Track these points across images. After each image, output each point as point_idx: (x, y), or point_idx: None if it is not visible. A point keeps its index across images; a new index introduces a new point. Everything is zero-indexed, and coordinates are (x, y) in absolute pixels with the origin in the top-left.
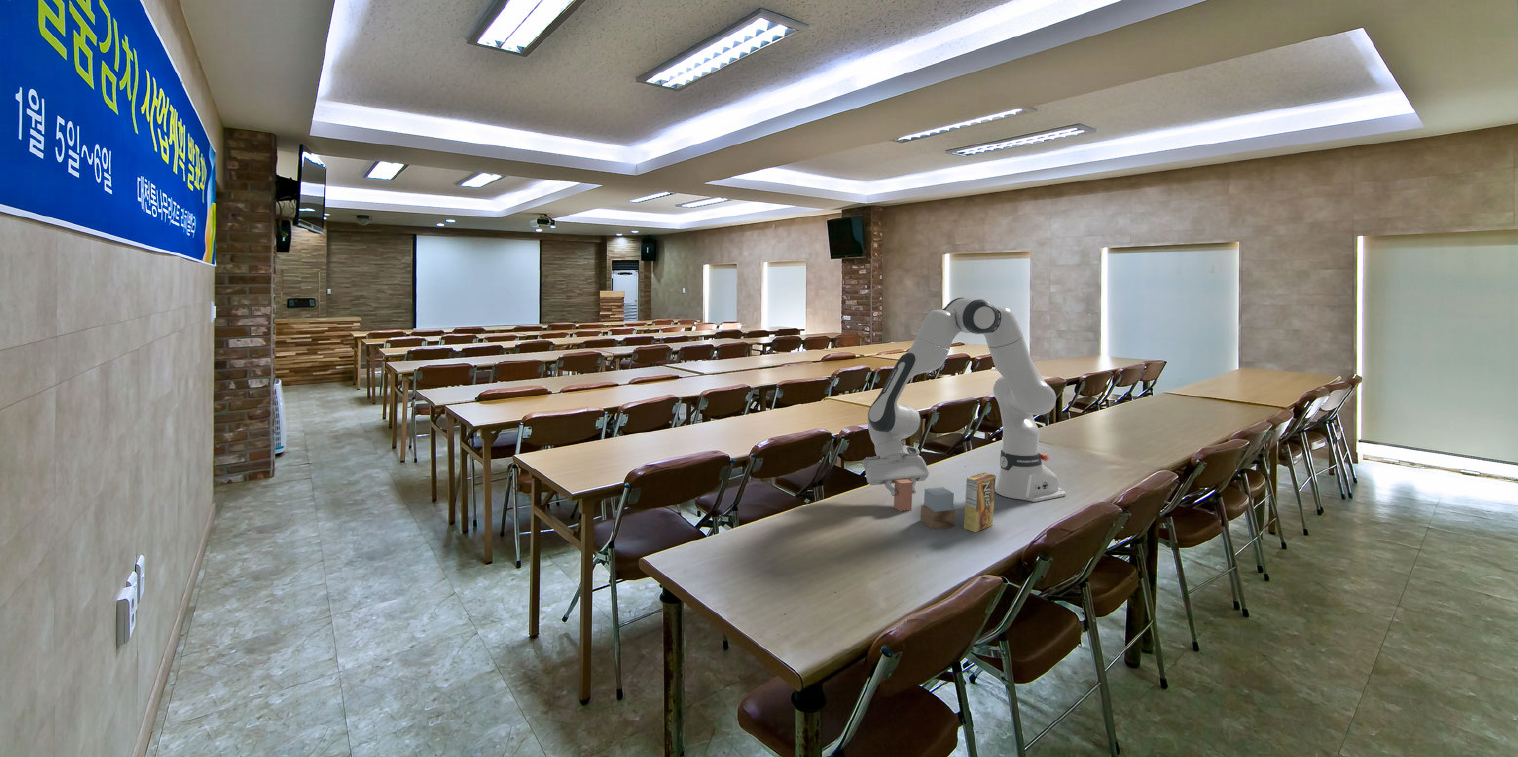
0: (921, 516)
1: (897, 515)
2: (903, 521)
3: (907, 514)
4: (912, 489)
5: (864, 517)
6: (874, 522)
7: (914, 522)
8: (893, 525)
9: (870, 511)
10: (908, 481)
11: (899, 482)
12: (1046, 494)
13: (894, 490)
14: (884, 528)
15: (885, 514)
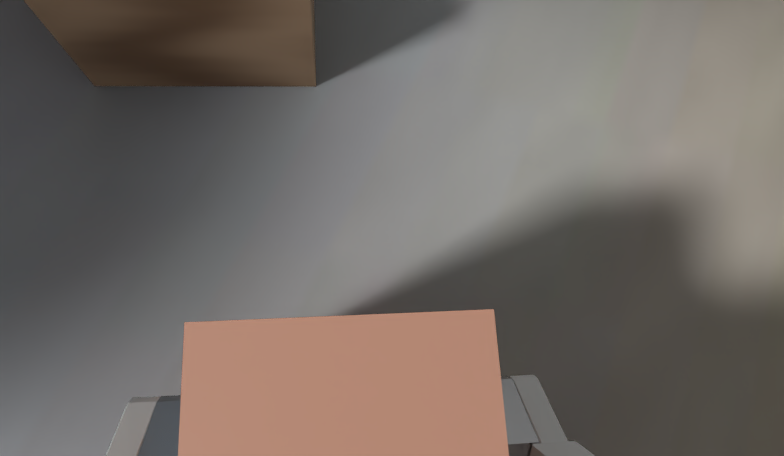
0: (314, 50)
1: (471, 243)
2: (473, 99)
3: (366, 247)
4: (175, 423)
5: (777, 263)
6: (715, 137)
7: (391, 58)
8: (583, 45)
9: (695, 408)
10: (247, 409)
11: (495, 377)
12: None
13: (526, 410)
14: (667, 12)
15: (574, 294)
